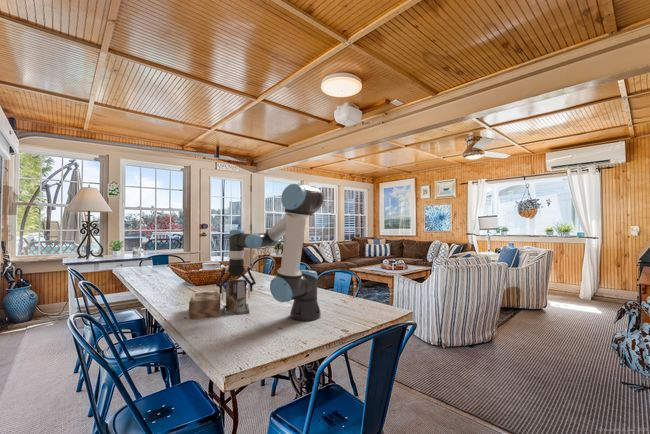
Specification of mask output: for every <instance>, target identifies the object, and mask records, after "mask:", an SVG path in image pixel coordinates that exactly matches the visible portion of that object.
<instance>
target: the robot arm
mask: <svg viewBox="0 0 650 434" xmlns="http://www.w3.org/2000/svg"><path fill="white" fill-rule="evenodd" d="M281 193H282V194H281V197H280V201H281V204H282V206H283V207H284V213H285V215H284V216H283V217H282V218H281V219H280V220H278V221H277V222H276V223H275V224H274V225H273V226H272V227H270V228H269V229H268V230H267V231H265V232H264V233H263V232H262V233H261V232H260V233H245V230H244V229H231V230H229V236H228V238H229V239H228V240H229V241H228V242H229V245H228V247H229V251H228V253H229V255H228V257H229V258H228V259H229V260H228V268H227V267H226V268H225V267H223V268H222V272H221V274H220V276H219V278H218V280H217V282H216V284H215V286H216V287H218V288H219V291H220V293H221V301H224V285H226V281H228V280H230V279H231V277H242V278H243V280H246V283H248V289H247V291H248V299H251V293H252V292H253V286H254V285H256V284H257V282H256V280H255V279H254V277H253V275H252V273H251V268H250V266H247V267H245V260H244V258H245V249H250V250H254V249H259V248H272V247H275V246H277V245H278V243H279V242H280V241H279V240H281V238H282V237H283V236H284V240H283V249H282V255H281V256H282V257H281V263H280V267H279V268H278V269H277V271H276V277H273V278H272V279H271V280H270V282H269V290H270V294H271V295H272V298H273V299H274V300H275V301H277V302H279V303H286V302H287V303H288V302H291V301H293V303H292V306H291V308H290V312H289V313H290V314H289V315H290V316H289V317H290V318H291V319H292V320H295V321H303V322H304V321H305V322H306V321H315V320H317V319H320V318H321V316H322V315H321V308H320V305H319V303H318V272H317V271H315V270H309V269H301V268H300V266H301V260H302V259H301V258H302V252H303V244H304V238H305V237H304V236H305V230H306V225H307V223H306V221H307V219H308V218H309V217H312V216H313V215H314V214H315V213H317V212H318V211H319V210H320V209H321V207H322V206H323V203H324V195H323V192H322V191H321V190H320V189H319V188H318V187H316V186H313V185H307V184H303V183H291V184H289V185H287V186H286V187H285V188H284V189H283V191H282V192H281ZM227 272H228V273H229V274H228V275H227V276H226V277H225V278H224V279H223V277H224V275H225V274H226V273H227ZM244 272H247V273H248V275H249V277H250V279H251V280H250V279H249V278H248V277H247V275H245V273H244ZM222 279H223V280H222ZM221 281H222V282H221Z"/></svg>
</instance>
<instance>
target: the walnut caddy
mask: <svg viewBox="0 0 650 434" xmlns="http://www.w3.org/2000/svg"><path fill="white" fill-rule="evenodd" d="M221 301H222V293H220V290H215V291H213V290H212V291H210V290H209V291H193V293H192V295H191V297H190V300H189V302H188V320H195V319H196V320H197V319H207V318H209V319H210V318H211V317H212V318H219V317H220V315H221ZM225 308H226V304H225V305H223V306H222V316H234V315H235V314H236V315H245V314H246V315H247V314H250V307H249V304H248V303H246V310H242V311H226V309H225ZM212 318H211V319H212Z"/></svg>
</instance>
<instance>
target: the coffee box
mask: <svg viewBox="0 0 650 434" xmlns="http://www.w3.org/2000/svg"><path fill="white" fill-rule="evenodd" d="M246 304H247V281H246V280H245V279H240V278H239V279H237V278H232V279H228V280H227V281H226V283H225V305H226V309H225V312H229V311H242V310H247V309H246Z"/></svg>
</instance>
